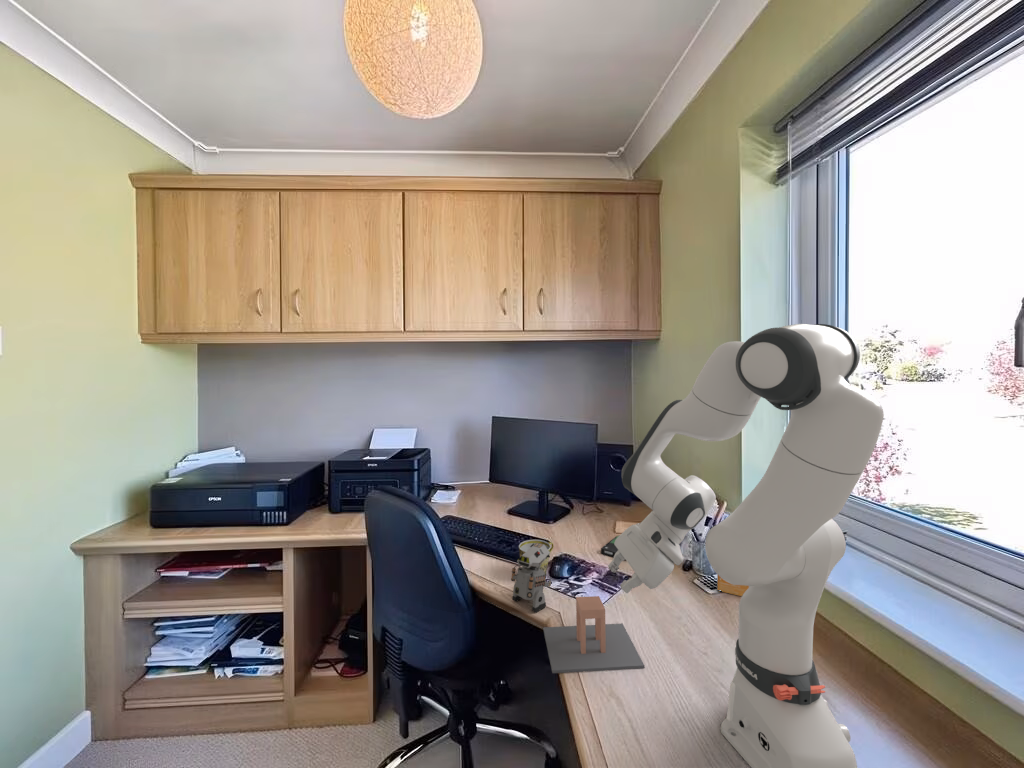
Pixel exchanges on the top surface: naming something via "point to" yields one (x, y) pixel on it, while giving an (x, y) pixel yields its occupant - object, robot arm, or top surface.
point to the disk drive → (610, 548)
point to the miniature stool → (590, 610)
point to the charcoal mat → (590, 650)
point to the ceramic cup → (526, 546)
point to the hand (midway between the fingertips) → (616, 579)
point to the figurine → (531, 576)
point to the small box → (730, 587)
